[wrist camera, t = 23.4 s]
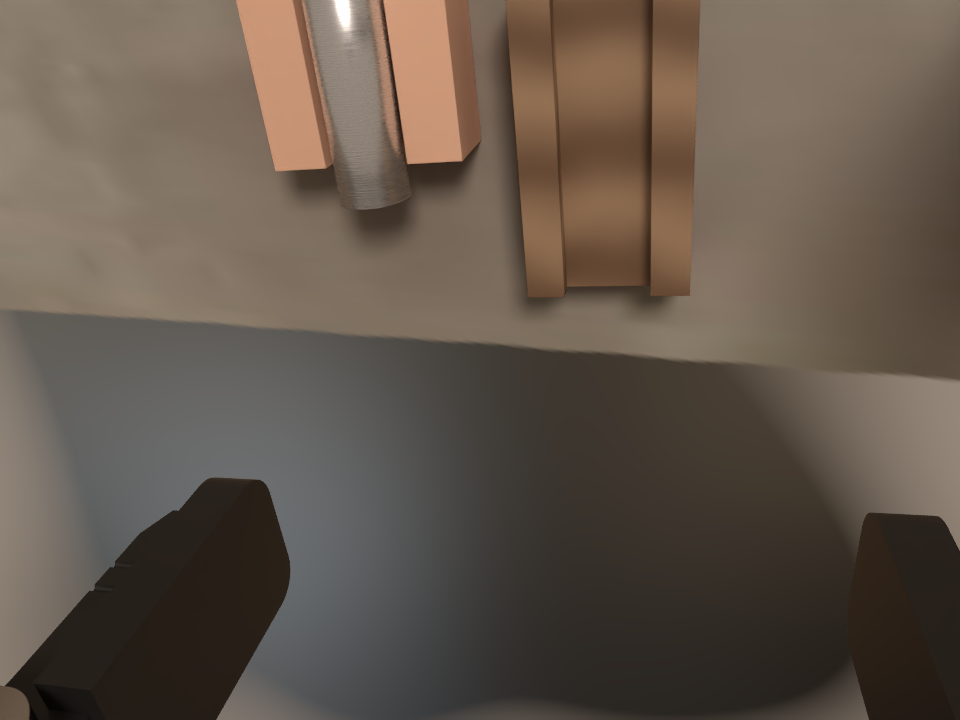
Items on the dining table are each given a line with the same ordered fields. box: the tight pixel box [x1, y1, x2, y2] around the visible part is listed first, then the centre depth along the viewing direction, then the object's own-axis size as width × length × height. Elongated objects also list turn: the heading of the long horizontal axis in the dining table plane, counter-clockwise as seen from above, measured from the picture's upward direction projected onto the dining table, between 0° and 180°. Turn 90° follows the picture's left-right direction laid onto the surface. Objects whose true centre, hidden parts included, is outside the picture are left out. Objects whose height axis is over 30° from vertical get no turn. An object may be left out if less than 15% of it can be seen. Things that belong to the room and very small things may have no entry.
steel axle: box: [301, 0, 411, 210], centre depth 38 cm, size 16×4×4 cm, turn 6°
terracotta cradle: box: [236, 0, 481, 171], centre depth 41 cm, size 9×11×5 cm
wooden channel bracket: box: [505, 0, 700, 297], centre depth 40 cm, size 16×9×5 cm, turn 6°
